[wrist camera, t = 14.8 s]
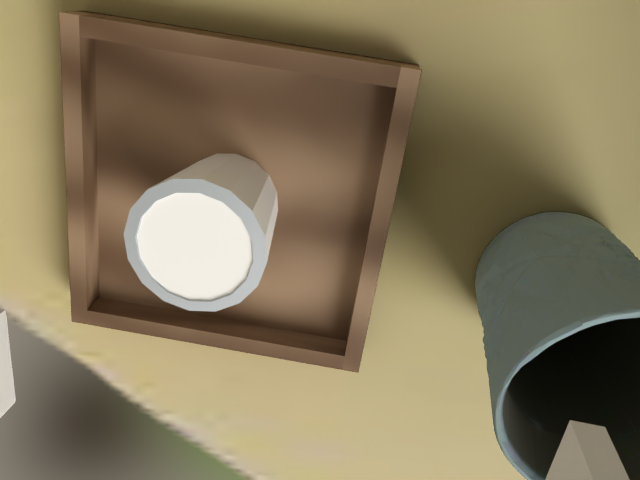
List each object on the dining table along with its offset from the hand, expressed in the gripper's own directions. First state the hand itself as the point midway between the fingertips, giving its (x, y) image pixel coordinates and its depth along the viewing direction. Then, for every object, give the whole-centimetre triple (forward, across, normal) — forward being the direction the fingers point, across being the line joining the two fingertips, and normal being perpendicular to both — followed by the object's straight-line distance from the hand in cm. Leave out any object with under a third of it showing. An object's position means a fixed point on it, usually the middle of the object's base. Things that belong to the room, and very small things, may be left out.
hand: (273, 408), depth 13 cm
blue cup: (+21, +13, -5) cm, 25 cm away
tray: (+20, -6, -3) cm, 22 cm away
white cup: (+20, -6, -3) cm, 21 cm away
